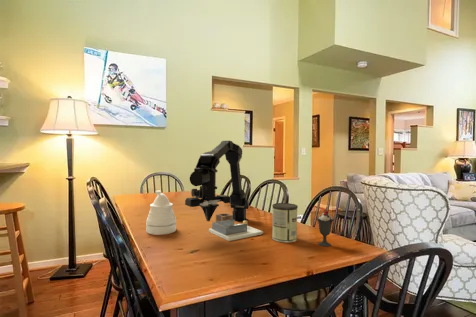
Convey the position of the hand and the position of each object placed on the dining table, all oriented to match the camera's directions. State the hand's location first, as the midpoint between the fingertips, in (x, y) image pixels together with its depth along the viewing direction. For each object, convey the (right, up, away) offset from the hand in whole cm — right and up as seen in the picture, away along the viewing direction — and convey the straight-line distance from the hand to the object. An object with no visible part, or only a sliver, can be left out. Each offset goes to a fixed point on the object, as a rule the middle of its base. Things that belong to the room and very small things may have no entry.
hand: (208, 221), depth 116 cm
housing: (+9, -5, +6) cm, 12 cm away
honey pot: (-22, -6, +9) cm, 25 cm away
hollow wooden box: (+6, -7, +20) cm, 22 cm away
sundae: (+46, -8, -7) cm, 48 cm away
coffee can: (+32, -8, 0) cm, 33 cm away
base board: (+11, -7, +7) cm, 15 cm away
